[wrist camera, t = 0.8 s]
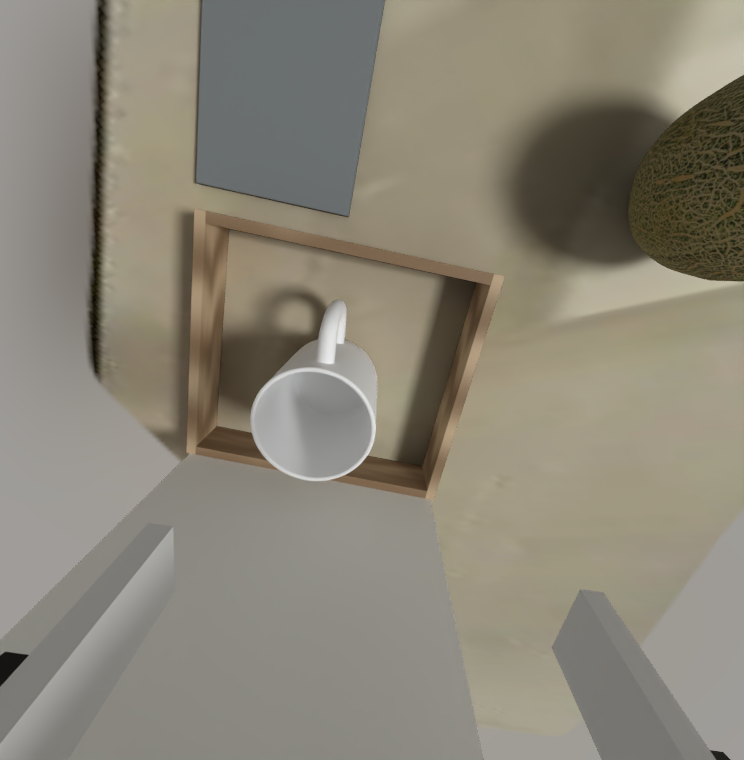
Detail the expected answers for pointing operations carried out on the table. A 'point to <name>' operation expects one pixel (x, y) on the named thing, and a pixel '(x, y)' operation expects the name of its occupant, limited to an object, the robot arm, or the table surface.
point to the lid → (281, 626)
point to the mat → (285, 97)
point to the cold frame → (208, 344)
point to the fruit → (695, 191)
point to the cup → (319, 406)
